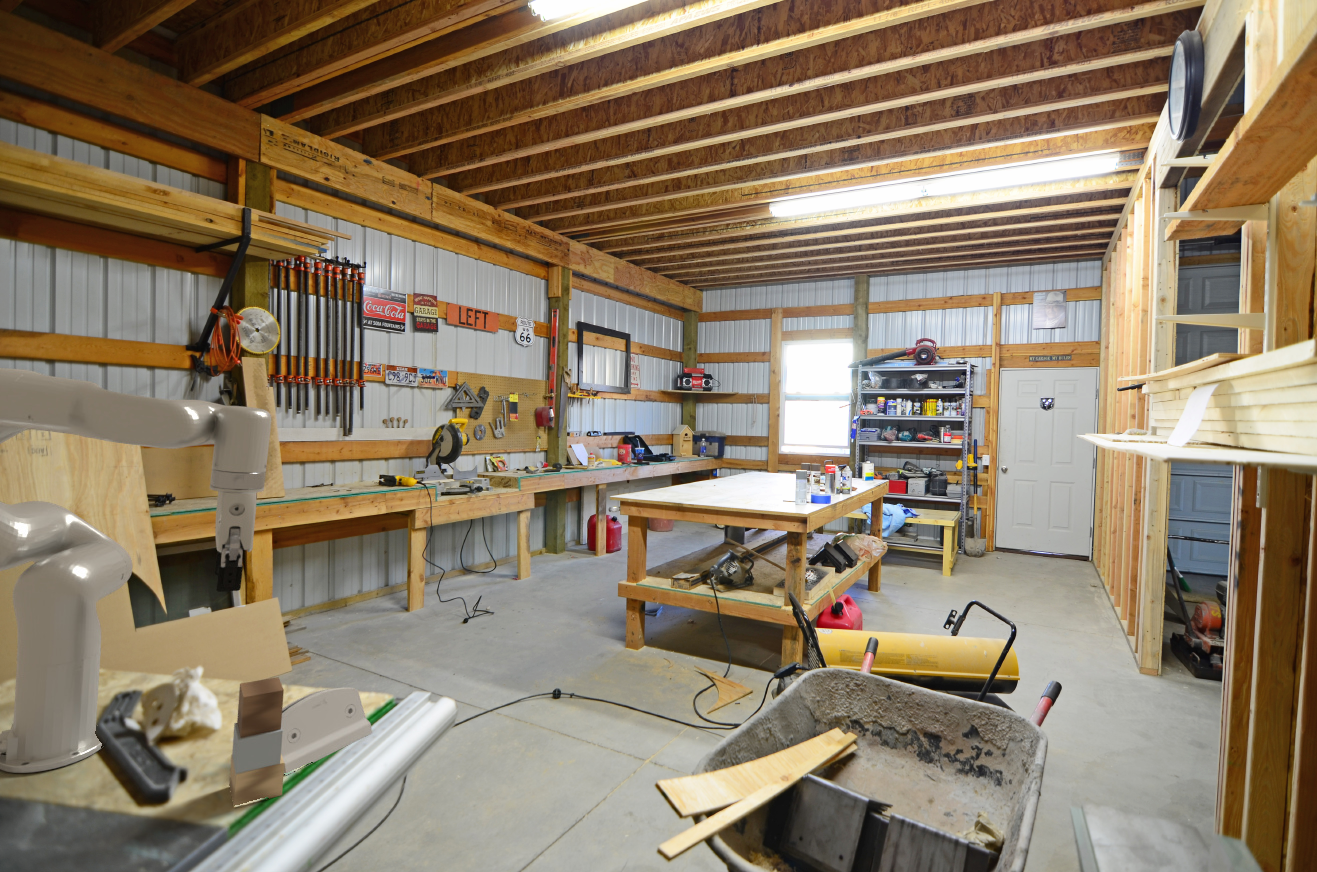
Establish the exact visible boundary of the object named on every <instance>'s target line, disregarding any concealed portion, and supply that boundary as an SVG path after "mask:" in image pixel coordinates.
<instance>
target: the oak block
mask: <svg viewBox="0 0 1317 872" xmlns="http://www.w3.org/2000/svg"><path fill="white" fill-rule="evenodd" d="M229 771H230V773H229V785H228V787H229V786H230V789H229V792H230V791H231V793H230V796H231V795H232V798H231V801H232V800H233V803H232V805H233V804H234V806H235V805H240V804H243V803H247V802H249V801H253V800H257V799H260V798H265V797H268V798H269V799H273V798H276V797H280V796H283V787H284V776H285V775H284V760H283V757H282V755H281V760H280V764H276V765H272V766H268V767H264V768H260V769H256V770H251V771H247V772H243V773H239V774H236V773H235V768H234V763H233V758H232V754H231V756H230V769H229ZM269 799H268V800H269Z"/></svg>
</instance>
